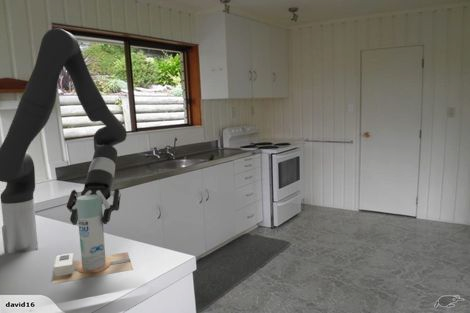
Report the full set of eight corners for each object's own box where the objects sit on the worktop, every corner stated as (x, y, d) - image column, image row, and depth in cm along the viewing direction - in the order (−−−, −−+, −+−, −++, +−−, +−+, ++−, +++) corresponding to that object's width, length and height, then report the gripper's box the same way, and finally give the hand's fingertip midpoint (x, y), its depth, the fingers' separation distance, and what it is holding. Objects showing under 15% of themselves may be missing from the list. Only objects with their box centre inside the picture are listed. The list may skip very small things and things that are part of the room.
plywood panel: (53, 289, 91) (52, 283, 91) (57, 268, 104) (57, 262, 104) (133, 274, 99) (133, 268, 99) (128, 256, 112) (127, 251, 112)
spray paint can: (110, 264, 102) (105, 196, 99) (88, 272, 97) (82, 201, 94) (99, 258, 106) (94, 193, 104) (77, 265, 101) (72, 197, 99)
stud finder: (72, 273, 97) (72, 263, 97) (54, 276, 95) (54, 266, 95) (73, 261, 105) (73, 252, 105) (57, 264, 104) (56, 255, 103)
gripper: (72, 168, 106) (57, 217, 95) (121, 167, 106) (111, 215, 96) (81, 183, 111) (68, 230, 101) (127, 181, 112) (118, 228, 102)
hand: (89, 223), depth 99 cm, fingers open, 8 cm apart
